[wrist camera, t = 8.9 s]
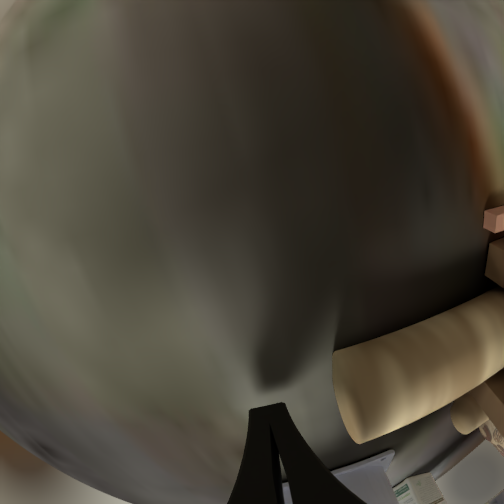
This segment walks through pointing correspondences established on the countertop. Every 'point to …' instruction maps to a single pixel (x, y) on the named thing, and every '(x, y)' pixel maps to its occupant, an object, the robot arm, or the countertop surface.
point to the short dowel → (467, 414)
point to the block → (500, 384)
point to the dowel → (419, 367)
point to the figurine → (492, 435)
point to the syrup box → (419, 490)
